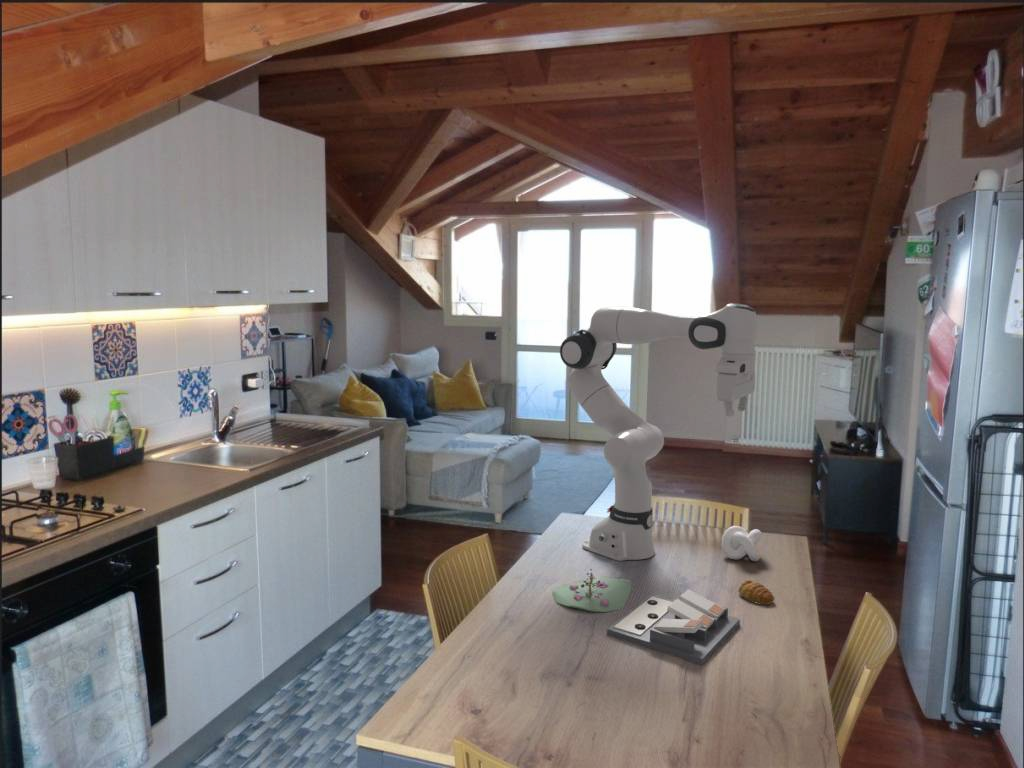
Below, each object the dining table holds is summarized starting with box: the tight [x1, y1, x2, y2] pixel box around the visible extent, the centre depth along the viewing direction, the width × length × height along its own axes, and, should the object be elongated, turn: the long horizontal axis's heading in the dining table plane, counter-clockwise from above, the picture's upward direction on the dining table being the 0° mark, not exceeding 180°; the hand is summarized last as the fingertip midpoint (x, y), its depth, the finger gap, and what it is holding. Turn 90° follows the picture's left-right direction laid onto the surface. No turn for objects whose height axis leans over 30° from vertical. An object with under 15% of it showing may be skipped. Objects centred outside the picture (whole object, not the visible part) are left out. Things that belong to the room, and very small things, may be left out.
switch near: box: [654, 619, 703, 633], centre depth 181 cm, size 10×5×1 cm, turn 54°
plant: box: [552, 568, 632, 613], centre depth 210 cm, size 25×21×9 cm
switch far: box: [678, 588, 725, 619], centre depth 192 cm, size 10×5×1 cm, turn 55°
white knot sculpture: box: [721, 525, 762, 562], centre depth 234 cm, size 11×12×9 cm
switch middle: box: [667, 598, 714, 630], centre depth 187 cm, size 10×5×1 cm, turn 55°
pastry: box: [738, 580, 775, 606], centre depth 207 cm, size 9×7×4 cm
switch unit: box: [606, 594, 741, 666], centre depth 189 cm, size 24×24×4 cm
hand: (735, 413), depth 214 cm, fingers open, 8 cm apart
